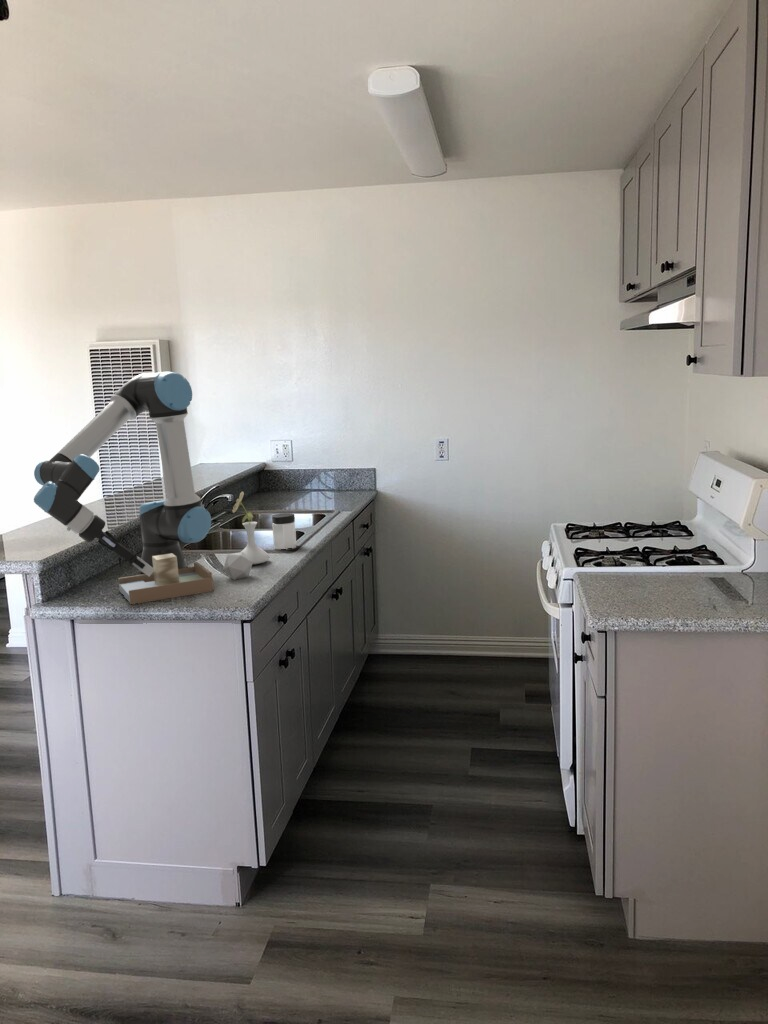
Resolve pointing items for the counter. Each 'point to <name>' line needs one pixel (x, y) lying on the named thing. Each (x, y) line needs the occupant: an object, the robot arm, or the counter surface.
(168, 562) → the block
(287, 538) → the jar
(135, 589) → the box
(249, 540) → the flower in vase
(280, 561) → the counter surface
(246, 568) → the die
